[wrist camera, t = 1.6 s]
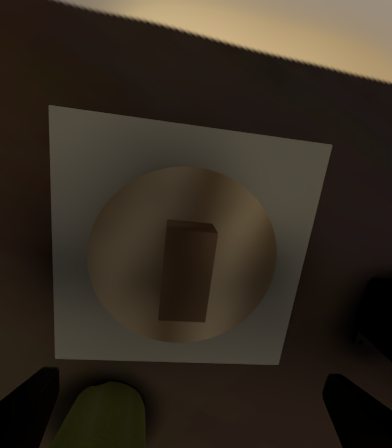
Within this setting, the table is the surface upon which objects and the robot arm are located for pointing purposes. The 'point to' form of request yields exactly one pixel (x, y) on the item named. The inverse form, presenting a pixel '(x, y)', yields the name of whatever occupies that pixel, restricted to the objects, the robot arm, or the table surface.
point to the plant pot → (104, 419)
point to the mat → (154, 160)
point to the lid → (181, 254)
